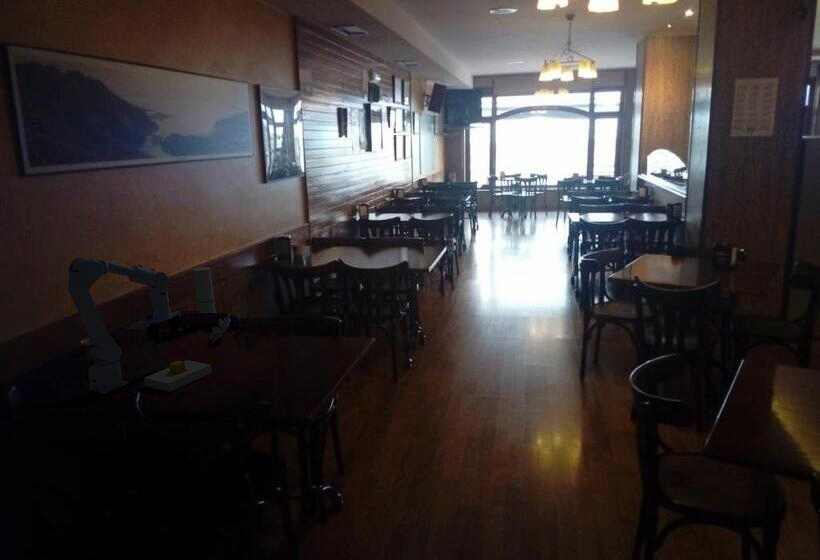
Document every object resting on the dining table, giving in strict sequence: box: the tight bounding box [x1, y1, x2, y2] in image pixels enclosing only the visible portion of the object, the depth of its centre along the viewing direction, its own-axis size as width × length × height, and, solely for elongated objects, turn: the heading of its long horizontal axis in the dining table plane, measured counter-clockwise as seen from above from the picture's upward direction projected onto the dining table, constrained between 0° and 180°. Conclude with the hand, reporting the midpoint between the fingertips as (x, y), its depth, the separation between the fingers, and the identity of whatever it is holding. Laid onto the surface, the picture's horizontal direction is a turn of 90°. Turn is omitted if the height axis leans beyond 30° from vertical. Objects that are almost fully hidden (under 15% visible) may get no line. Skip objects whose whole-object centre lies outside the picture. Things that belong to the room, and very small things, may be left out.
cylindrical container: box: [192, 266, 217, 314], centre depth 273 cm, size 7×7×25 cm
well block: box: [143, 359, 213, 393], centre depth 212 cm, size 18×12×3 cm, turn 150°
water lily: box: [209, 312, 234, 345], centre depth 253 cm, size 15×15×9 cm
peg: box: [168, 360, 186, 375], centre depth 212 cm, size 4×4×6 cm
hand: (165, 340), depth 225 cm, fingers open, 7 cm apart
